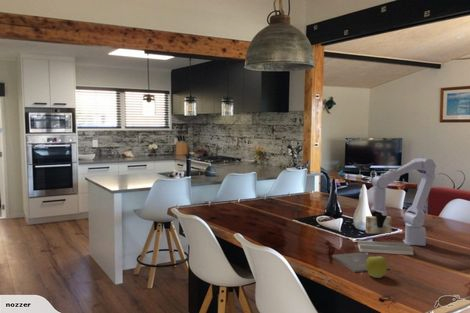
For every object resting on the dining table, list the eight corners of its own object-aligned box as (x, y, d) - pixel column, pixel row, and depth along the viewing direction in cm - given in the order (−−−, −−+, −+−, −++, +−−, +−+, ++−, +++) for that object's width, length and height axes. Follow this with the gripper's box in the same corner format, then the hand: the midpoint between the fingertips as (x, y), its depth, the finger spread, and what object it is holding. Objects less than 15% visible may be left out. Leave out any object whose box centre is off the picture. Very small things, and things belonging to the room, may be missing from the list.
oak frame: (388, 231, 208) (389, 216, 208) (391, 233, 205) (391, 217, 205) (365, 231, 208) (365, 216, 207) (367, 233, 205) (368, 217, 204)
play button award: (354, 270, 169) (332, 254, 188) (354, 273, 169) (332, 258, 189) (389, 266, 173) (363, 252, 192) (389, 270, 173) (363, 255, 192)
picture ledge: (408, 248, 201) (408, 242, 201) (413, 254, 192) (413, 248, 191) (357, 245, 206) (358, 239, 206) (360, 251, 196) (360, 245, 196)
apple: (389, 278, 159) (382, 253, 160) (369, 281, 162) (362, 257, 163) (390, 272, 167) (383, 248, 167) (370, 275, 170) (363, 251, 170)
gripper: (366, 197, 212) (365, 223, 213) (377, 202, 198) (376, 230, 199) (379, 197, 213) (378, 223, 214) (391, 202, 198) (390, 230, 199)
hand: (378, 226), depth 206 cm, fingers closed on oak frame, 3 cm apart
